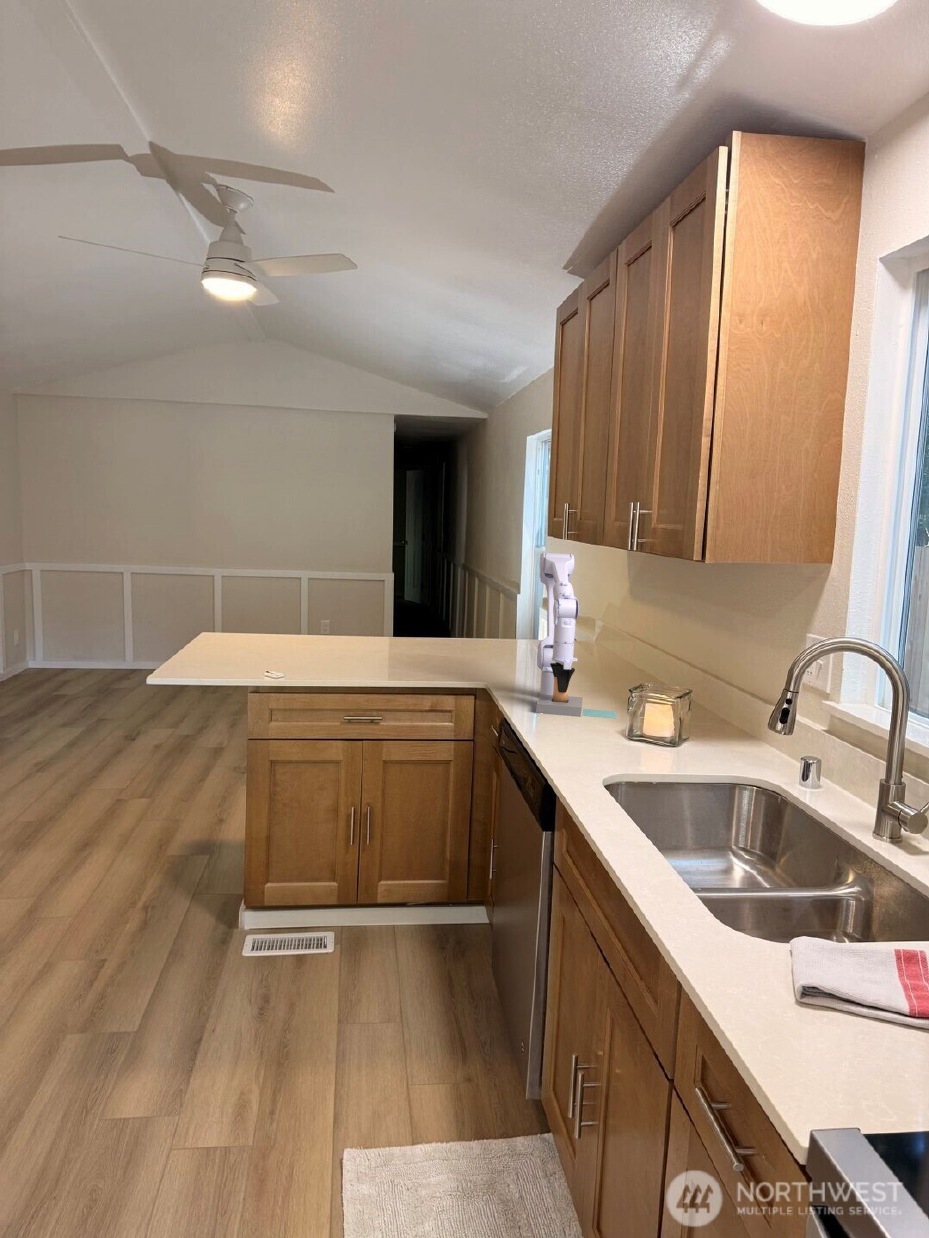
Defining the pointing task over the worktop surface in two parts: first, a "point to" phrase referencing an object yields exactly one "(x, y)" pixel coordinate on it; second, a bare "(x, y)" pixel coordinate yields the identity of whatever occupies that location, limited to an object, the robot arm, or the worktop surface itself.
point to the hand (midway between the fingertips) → (560, 690)
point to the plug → (559, 693)
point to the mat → (599, 713)
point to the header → (559, 706)
